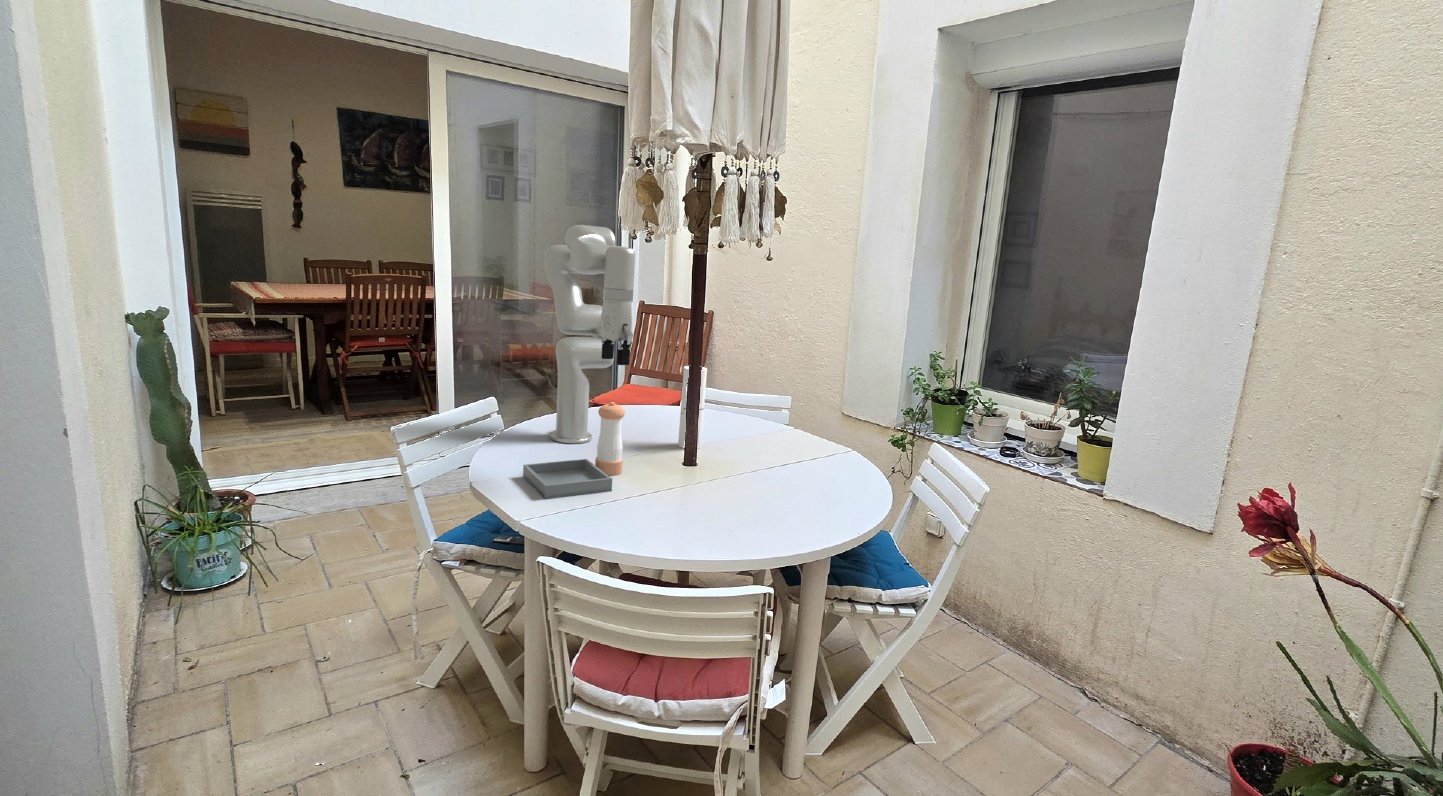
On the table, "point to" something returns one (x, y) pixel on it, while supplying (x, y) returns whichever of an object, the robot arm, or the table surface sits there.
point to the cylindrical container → (683, 406)
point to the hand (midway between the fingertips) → (614, 361)
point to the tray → (566, 478)
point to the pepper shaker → (610, 439)
